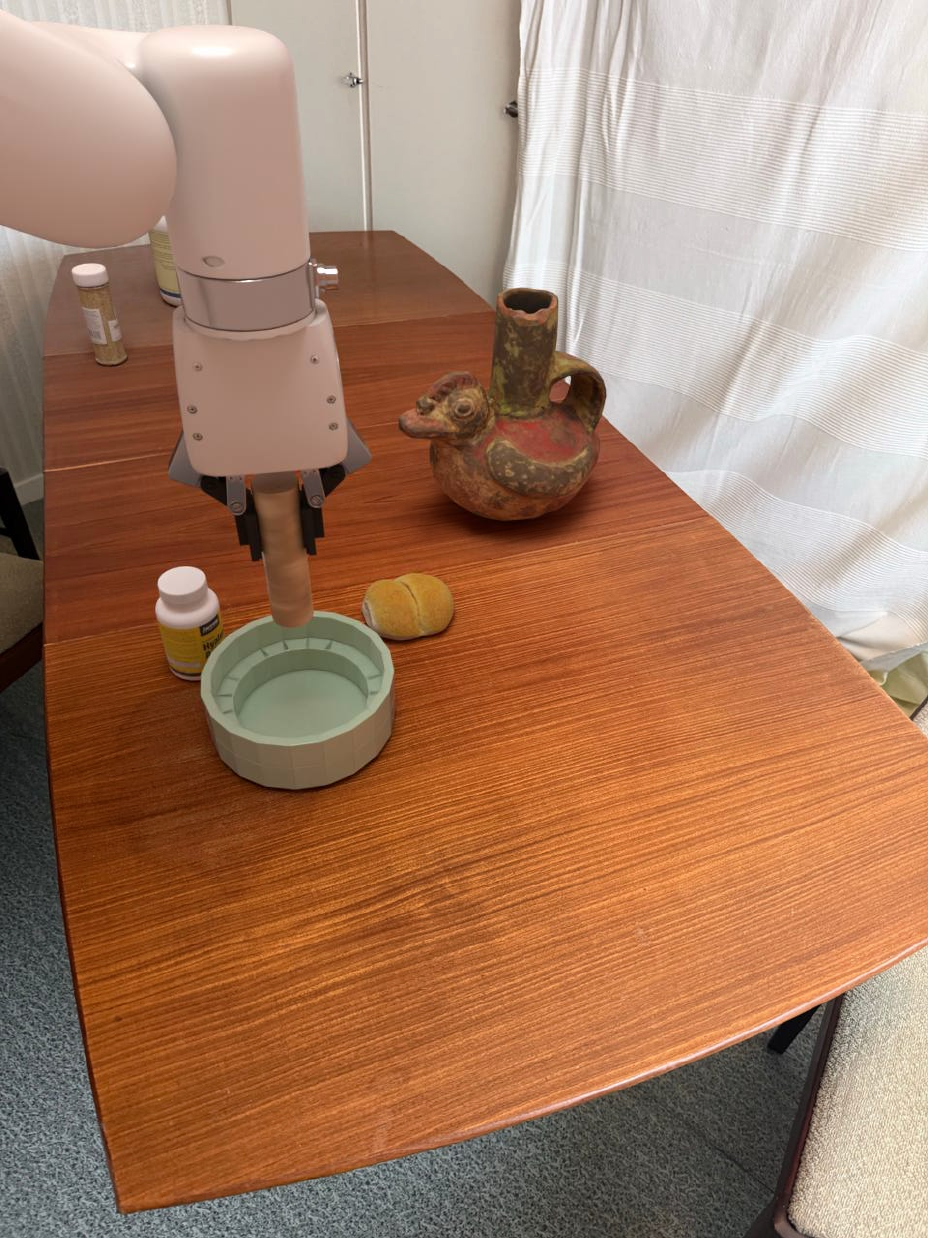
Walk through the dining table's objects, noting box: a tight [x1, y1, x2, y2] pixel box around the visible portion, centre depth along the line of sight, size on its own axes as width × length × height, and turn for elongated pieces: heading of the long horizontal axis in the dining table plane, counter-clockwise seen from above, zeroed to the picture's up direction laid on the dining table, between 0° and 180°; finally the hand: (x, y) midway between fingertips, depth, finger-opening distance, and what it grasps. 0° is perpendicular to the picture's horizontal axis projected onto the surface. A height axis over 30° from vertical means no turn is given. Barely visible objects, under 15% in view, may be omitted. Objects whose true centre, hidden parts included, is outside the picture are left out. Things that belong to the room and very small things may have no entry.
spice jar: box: [71, 262, 128, 366], centre depth 120 cm, size 5×5×14 cm
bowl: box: [200, 610, 396, 790], centre depth 70 cm, size 16×16×6 cm
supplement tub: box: [147, 215, 182, 307], centre depth 138 cm, size 12×12×17 cm
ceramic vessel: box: [397, 287, 608, 522], centre depth 90 cm, size 17×26×25 cm, turn 121°
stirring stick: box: [250, 471, 315, 628], centre depth 60 cm, size 3×3×12 cm
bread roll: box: [361, 572, 455, 641], centre depth 82 cm, size 8×9×4 cm
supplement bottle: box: [154, 565, 227, 681], centre depth 74 cm, size 5×5×10 cm
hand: (283, 545), depth 60 cm, fingers closed on stirring stick, 3 cm apart
